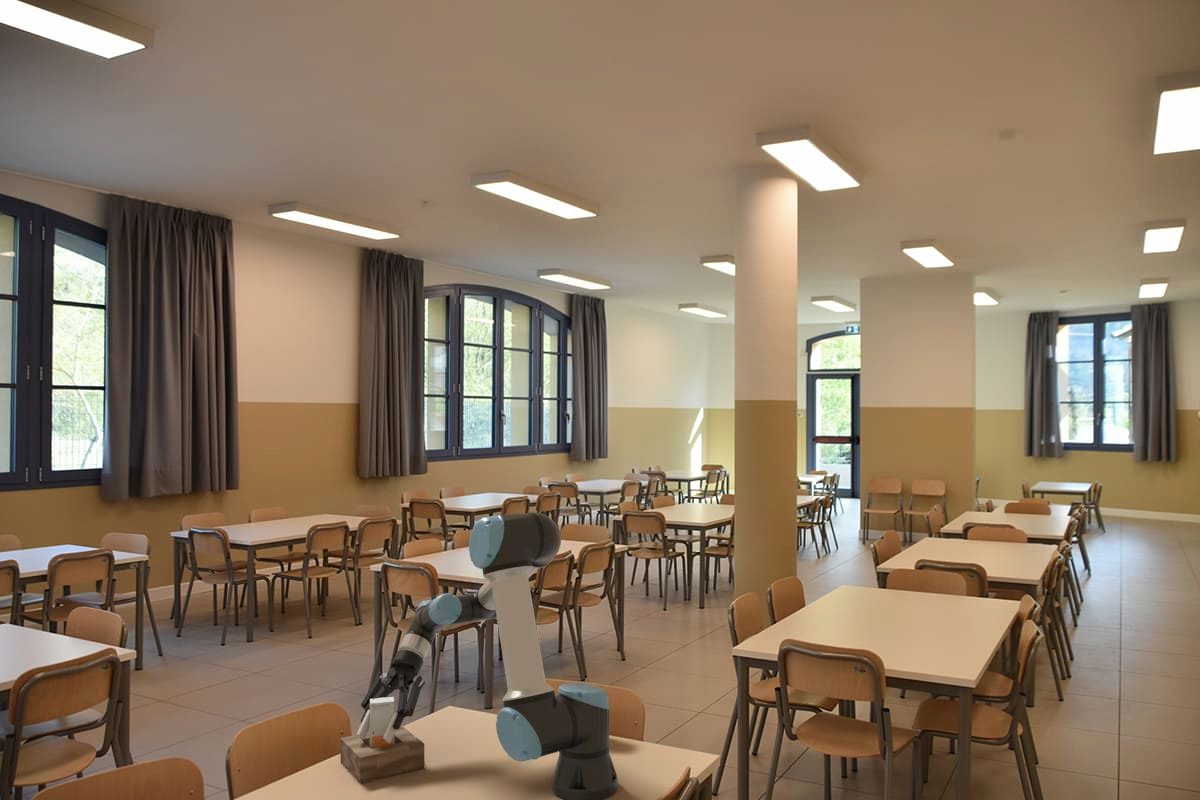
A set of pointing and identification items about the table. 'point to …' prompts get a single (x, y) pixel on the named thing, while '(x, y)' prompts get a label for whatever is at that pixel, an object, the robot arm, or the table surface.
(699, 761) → the table surface
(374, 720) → the skincare box
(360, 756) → the holder block
